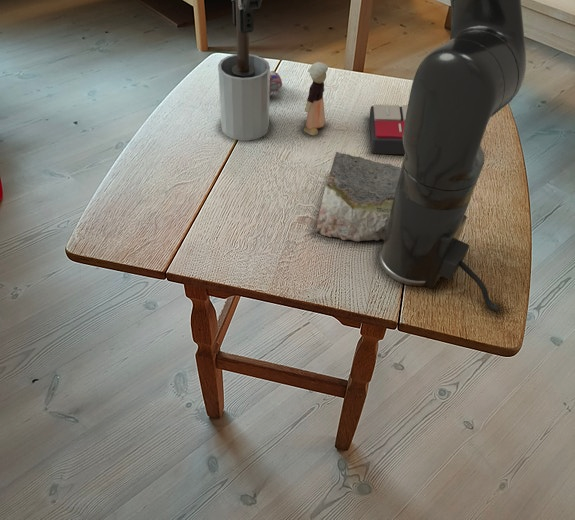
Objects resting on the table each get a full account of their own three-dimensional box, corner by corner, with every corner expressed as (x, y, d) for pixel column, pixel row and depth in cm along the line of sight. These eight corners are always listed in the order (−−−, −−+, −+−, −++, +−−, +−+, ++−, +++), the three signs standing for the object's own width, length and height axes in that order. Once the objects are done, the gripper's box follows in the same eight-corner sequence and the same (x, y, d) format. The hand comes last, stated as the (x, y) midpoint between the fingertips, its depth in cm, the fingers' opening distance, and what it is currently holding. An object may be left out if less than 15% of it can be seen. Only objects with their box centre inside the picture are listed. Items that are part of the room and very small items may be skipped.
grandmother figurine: (321, 140, 99) (327, 75, 90) (300, 136, 99) (304, 72, 90) (327, 117, 104) (334, 53, 95) (307, 114, 105) (312, 50, 95)
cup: (277, 124, 102) (279, 64, 93) (249, 146, 97) (248, 84, 88) (241, 108, 105) (239, 48, 96) (211, 129, 100) (207, 67, 91)
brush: (259, 94, 97) (260, -5, 84) (245, 104, 94) (244, 3, 82) (242, 87, 98) (239, -12, 85) (227, 96, 96) (223, -4, 83)
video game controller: (232, 106, 108) (234, 85, 101) (228, 86, 109) (230, 64, 103) (281, 101, 110) (286, 81, 103) (276, 82, 111) (281, 60, 105)
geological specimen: (402, 161, 87) (393, 219, 77) (394, 191, 92) (384, 251, 81) (336, 148, 89) (318, 203, 78) (331, 178, 93) (313, 235, 82)
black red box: (370, 101, 102) (452, 103, 101) (368, 121, 105) (448, 123, 104) (373, 136, 94) (461, 138, 93) (370, 156, 97) (456, 159, 97)
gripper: (287, -85, 72) (282, 43, 84) (247, -113, 80) (248, 7, 93) (233, -80, 69) (237, 51, 82) (198, -110, 78) (206, 14, 90)
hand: (243, 27), depth 87 cm, fingers closed on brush, 2 cm apart
